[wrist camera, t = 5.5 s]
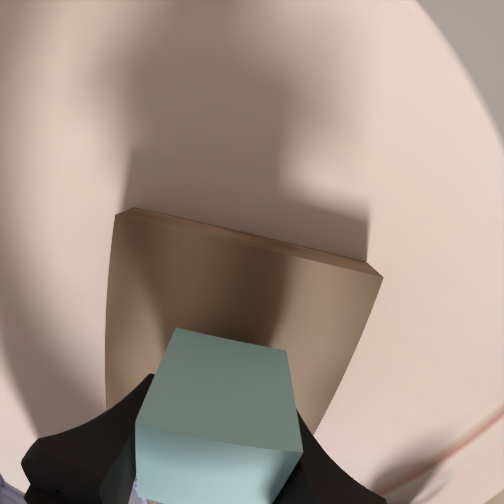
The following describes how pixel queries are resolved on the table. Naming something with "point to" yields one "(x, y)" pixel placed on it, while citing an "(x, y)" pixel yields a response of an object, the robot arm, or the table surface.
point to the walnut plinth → (231, 302)
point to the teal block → (217, 423)
